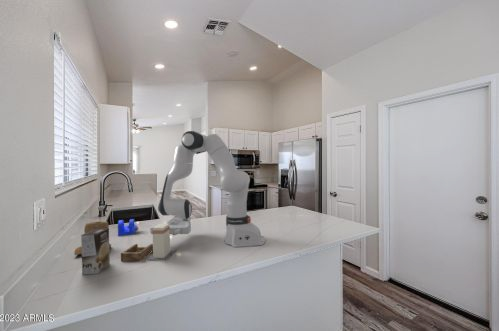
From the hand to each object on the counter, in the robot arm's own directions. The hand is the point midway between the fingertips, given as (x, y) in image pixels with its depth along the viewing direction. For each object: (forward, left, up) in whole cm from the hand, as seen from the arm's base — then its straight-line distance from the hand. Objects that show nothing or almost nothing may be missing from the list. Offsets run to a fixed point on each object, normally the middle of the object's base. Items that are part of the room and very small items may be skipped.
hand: (164, 233), depth 112 cm
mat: (0, +3, -10) cm, 10 cm away
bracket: (+41, -36, -10) cm, 56 cm away
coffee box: (+22, +17, -10) cm, 30 cm away
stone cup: (+39, -3, -10) cm, 40 cm away
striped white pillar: (0, +3, -9) cm, 10 cm away
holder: (+12, +3, -10) cm, 16 cm away
